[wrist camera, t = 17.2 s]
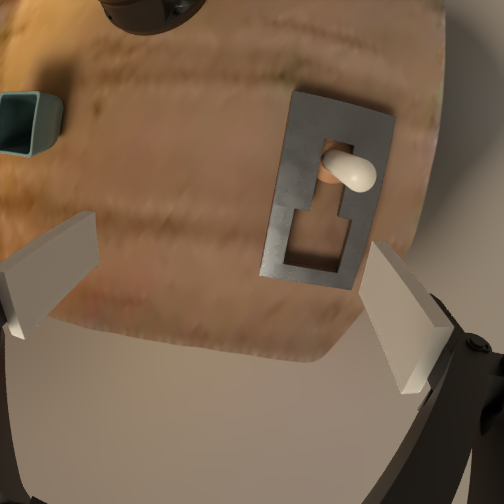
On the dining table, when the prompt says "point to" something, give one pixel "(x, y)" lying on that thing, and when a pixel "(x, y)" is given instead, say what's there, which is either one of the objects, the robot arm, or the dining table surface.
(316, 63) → the dining table surface
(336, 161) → the peg
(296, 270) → the keyhole plate
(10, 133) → the flower pot
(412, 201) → the dining table surface
